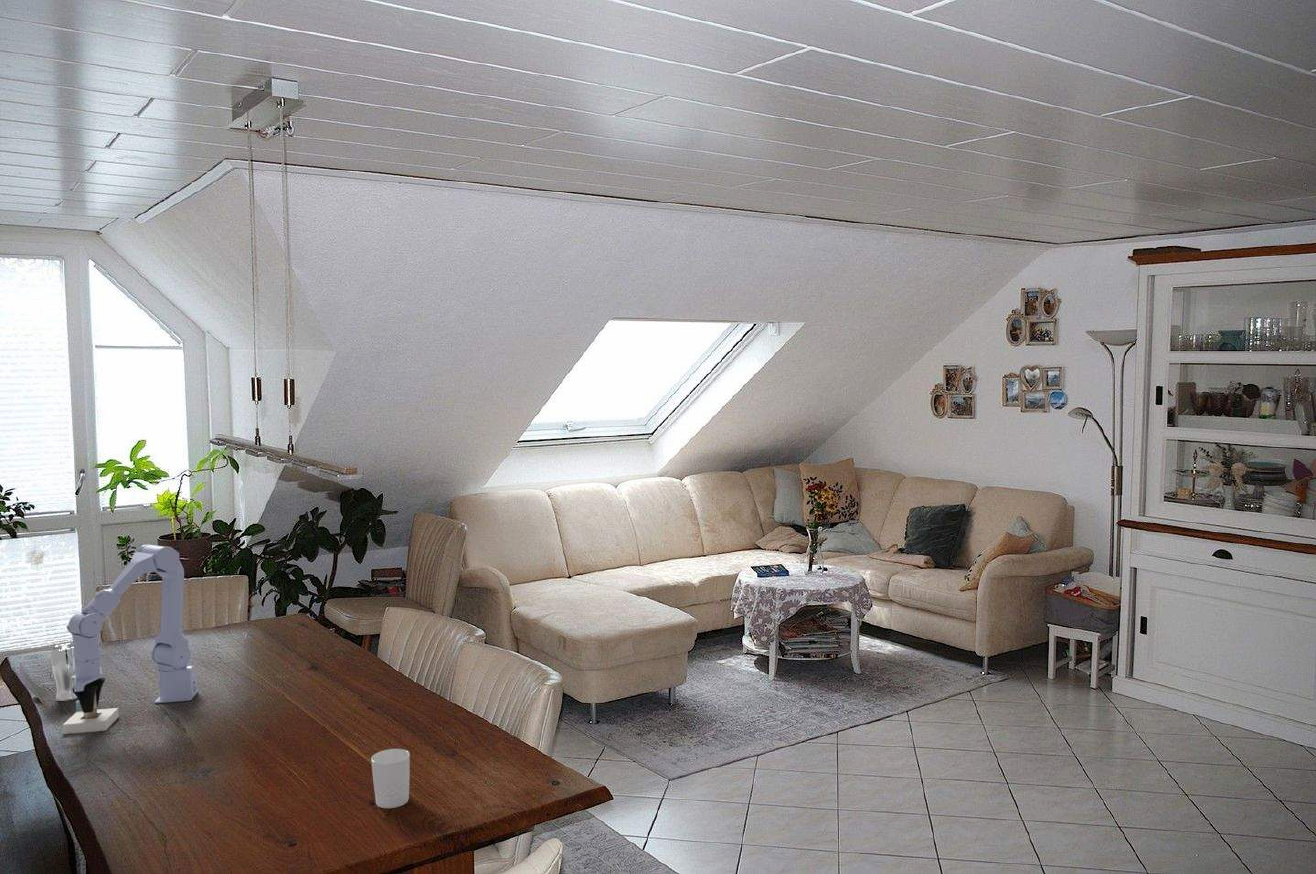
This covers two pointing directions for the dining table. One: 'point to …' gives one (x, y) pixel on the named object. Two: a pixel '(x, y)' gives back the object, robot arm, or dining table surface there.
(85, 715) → the long beech pin
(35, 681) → the dining table surface
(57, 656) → the beer glass
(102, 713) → the collar block
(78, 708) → the short teal pin
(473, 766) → the dining table surface
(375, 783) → the white cup
